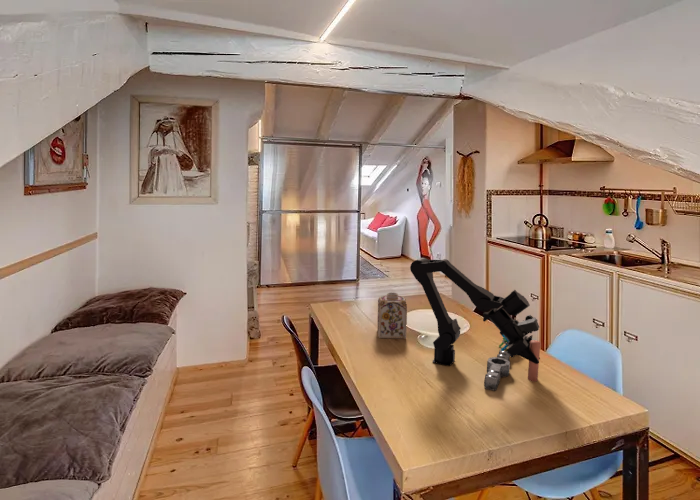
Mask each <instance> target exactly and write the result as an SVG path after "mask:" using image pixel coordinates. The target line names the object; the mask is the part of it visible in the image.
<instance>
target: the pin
mask: <svg viewBox="0 0 700 500" xmlns="http://www.w3.org/2000/svg"><path fill="white" fill-rule="evenodd" d="M530 348H531V350H532V351H533V353H534V354H535V356H536V357H537V359H538V361H539V363H538V364H535V363H533V362H531V361H529V360H528V367H527V368H528V371H527V380H528V381H530V382H534V383H535V382H538V380H539V366H540V359H539V357H540V352H541V351H540V350H541V341H539V340H536V339H535V340H534V339H532V340H531V341H530Z"/></svg>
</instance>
